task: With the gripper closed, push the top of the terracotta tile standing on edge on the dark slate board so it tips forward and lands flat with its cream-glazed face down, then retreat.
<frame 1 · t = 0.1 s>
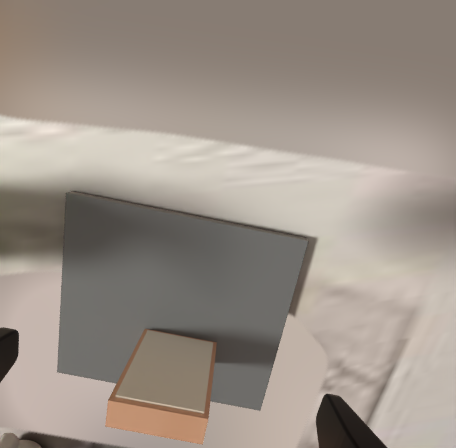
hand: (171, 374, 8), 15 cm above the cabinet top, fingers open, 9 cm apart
tile: (179, 345, 24), point 1 cm above the cabinet top, touching slate board
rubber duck: (29, 440, 29), on the cabinet top
slate board: (174, 306, 24), on the cabinet top
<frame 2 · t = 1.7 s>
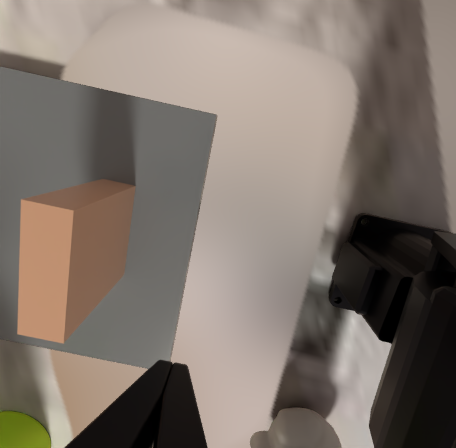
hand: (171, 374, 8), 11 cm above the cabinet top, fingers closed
soap dispenser: (22, 434, 25), on the cabinet top
tile: (114, 228, 19), point 1 cm above the cabinet top, touching slate board
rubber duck: (288, 418, 23), on the cabinet top
slate board: (72, 230, 20), on the cabinet top
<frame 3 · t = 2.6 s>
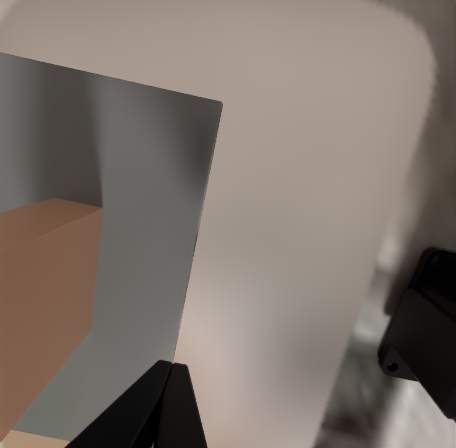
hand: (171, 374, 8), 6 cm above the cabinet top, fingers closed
tile: (73, 268, 13), point 1 cm above the cabinet top, touching slate board
slate board: (18, 267, 14), on the cabinet top
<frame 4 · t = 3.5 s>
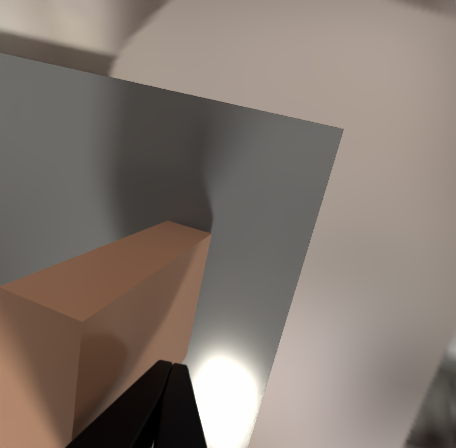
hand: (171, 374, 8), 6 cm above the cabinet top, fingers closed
tile: (177, 291, 13), point 1 cm above the cabinet top, tilted 14°, touching slate board
slate board: (118, 286, 14), on the cabinet top
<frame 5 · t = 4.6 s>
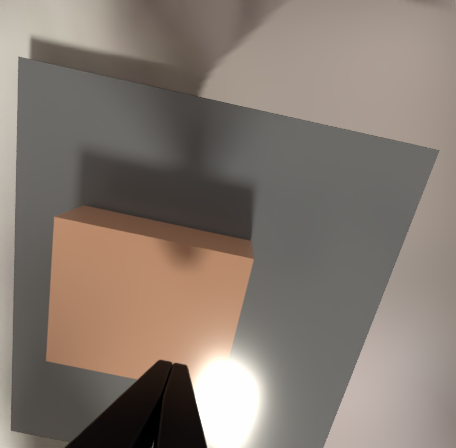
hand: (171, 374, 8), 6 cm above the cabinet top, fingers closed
tile: (235, 317, 12), point 2 cm above the cabinet top, tilted 90°, touching slate board
slate board: (192, 304, 14), on the cabinet top
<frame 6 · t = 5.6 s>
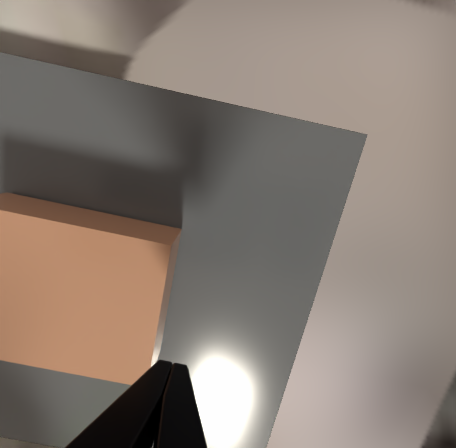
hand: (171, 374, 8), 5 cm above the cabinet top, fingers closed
tile: (164, 307, 12), point 2 cm above the cabinet top, tilted 90°, touching slate board
slate board: (130, 295, 14), on the cabinet top
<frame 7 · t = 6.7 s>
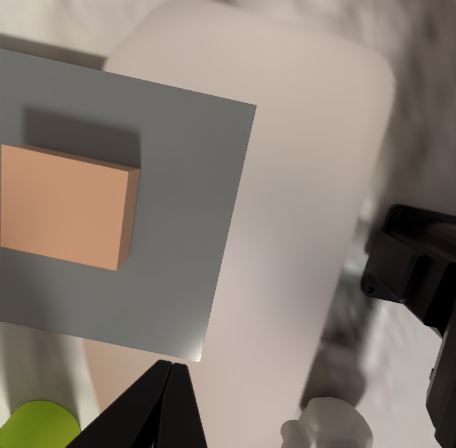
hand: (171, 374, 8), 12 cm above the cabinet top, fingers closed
soap dispenser: (52, 423, 25), on the cabinet top
tile: (128, 219, 18), point 2 cm above the cabinet top, tilted 90°, touching slate board
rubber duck: (316, 408, 24), on the cabinet top
slate board: (109, 220, 20), on the cabinet top
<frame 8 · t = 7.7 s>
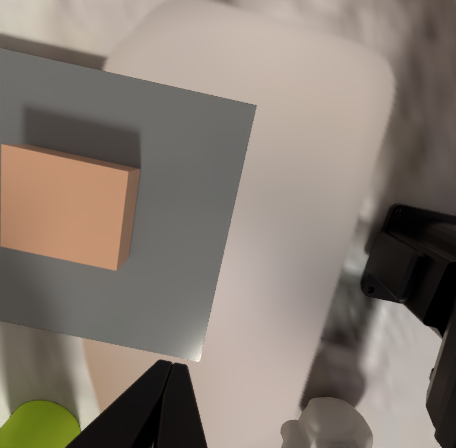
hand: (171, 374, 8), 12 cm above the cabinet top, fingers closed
soap dispenser: (52, 423, 25), on the cabinet top
tile: (128, 219, 18), point 2 cm above the cabinet top, tilted 90°, touching slate board
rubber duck: (316, 408, 24), on the cabinet top
slate board: (109, 220, 20), on the cabinet top
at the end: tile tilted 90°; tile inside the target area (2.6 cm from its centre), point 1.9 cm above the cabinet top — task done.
